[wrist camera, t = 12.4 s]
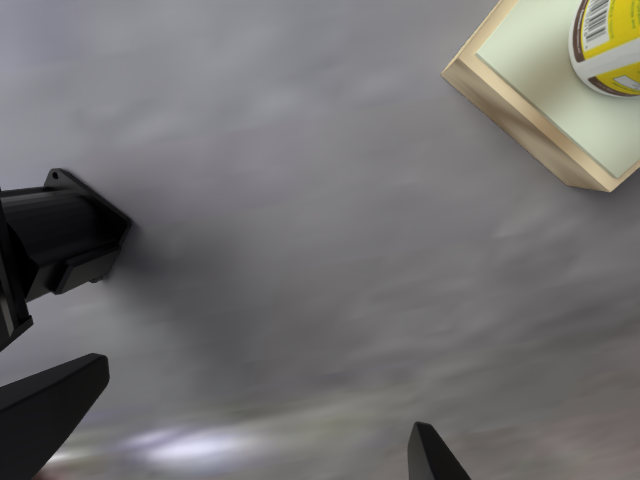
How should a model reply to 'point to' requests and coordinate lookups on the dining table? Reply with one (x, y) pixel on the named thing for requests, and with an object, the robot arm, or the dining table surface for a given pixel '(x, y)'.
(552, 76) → the cream flat square block
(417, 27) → the dining table surface
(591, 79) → the supplement bottle
